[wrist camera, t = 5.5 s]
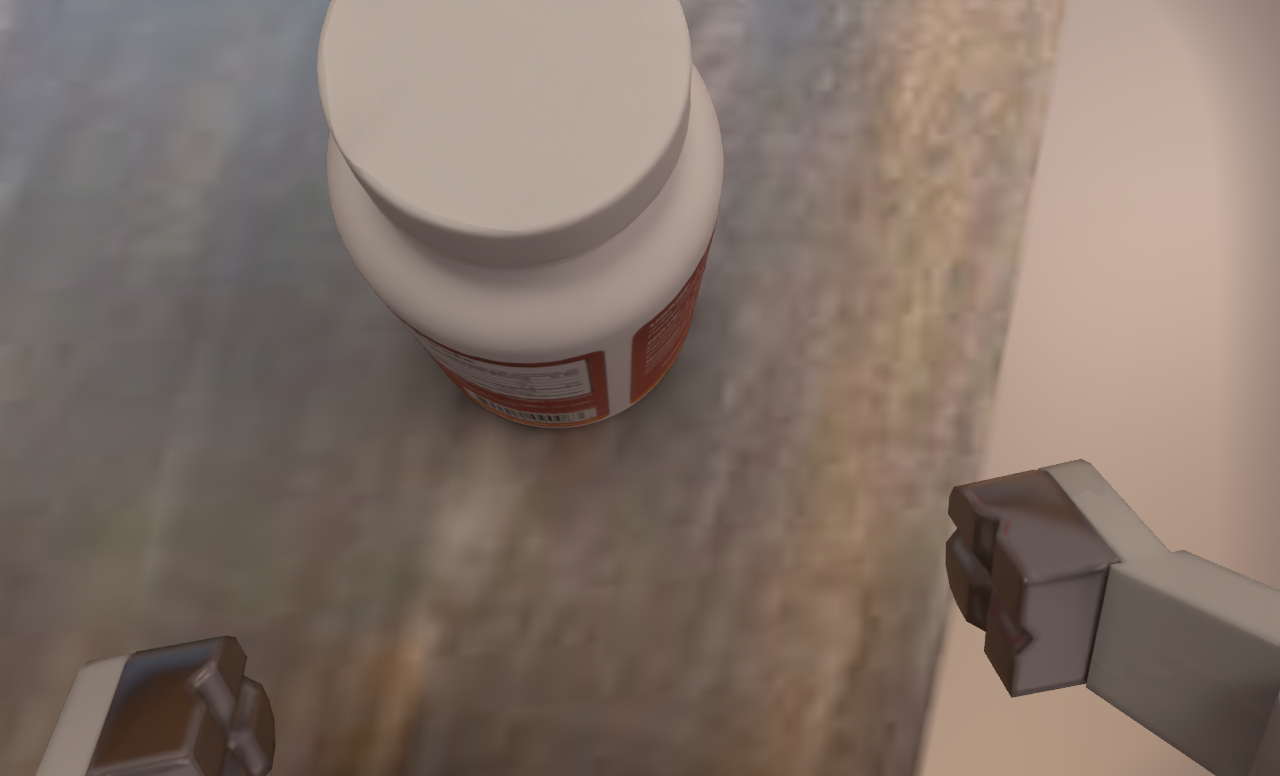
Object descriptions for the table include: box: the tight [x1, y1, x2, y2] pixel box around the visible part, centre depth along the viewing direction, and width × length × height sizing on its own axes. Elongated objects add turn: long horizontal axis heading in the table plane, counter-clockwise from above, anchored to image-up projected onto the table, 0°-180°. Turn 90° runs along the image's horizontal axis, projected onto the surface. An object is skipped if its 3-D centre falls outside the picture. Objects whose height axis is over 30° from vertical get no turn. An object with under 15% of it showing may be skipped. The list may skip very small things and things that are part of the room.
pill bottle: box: [317, 0, 723, 428], centre depth 18 cm, size 6×6×11 cm
